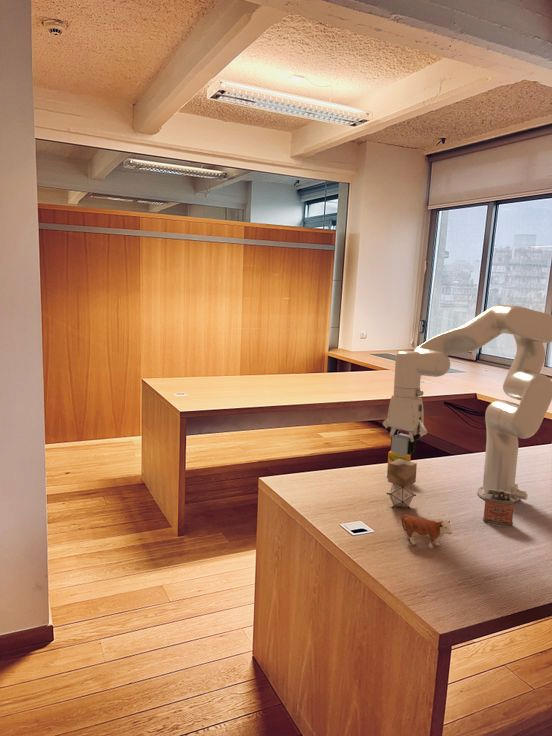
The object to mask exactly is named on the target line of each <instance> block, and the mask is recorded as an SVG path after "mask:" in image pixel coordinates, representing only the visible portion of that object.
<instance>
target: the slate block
mask: <svg viewBox="0 0 552 736" xmlns="http://www.w3.org/2000/svg"><path fill="white" fill-rule="evenodd" d="M409 441H410V437H409V434H404V433H402V432H400V433H398V434H397V435H394V436H392V445H391V444H390V447H391V448H390V451H391V452H392V453H396V454H399V455H403V456H407V455H409V454H408V442H409Z"/></svg>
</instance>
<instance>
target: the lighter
mask: <svg viewBox="0 0 552 736" xmlns="http://www.w3.org/2000/svg"><path fill="white" fill-rule="evenodd" d="M488 494H492V496H489V495H487V496H485V499H484V510H483V517H482V522H483V521H484V522H486V523H485V524H487V523H490V524H489V525H492V524H494V525H493V526H498V525H500V527H507V526H509V528H511V526H512V527H513V526H514V522H513V521H514V518H513V517H514V510H515V509H514V508H515V506H514V505H515V504H516V502H515V500H514V499H511V498H510V497H511V492H505V491H504V490H502V489H500V490H499V491H498V490H494V489H488ZM495 495H497V496H495ZM505 496H507V498H506V497H505ZM484 522H483V523H484Z"/></svg>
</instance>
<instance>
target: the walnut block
mask: <svg viewBox="0 0 552 736" xmlns="http://www.w3.org/2000/svg"><path fill="white" fill-rule="evenodd" d="M417 467H418V466H417V462H413V461H411V460H410V461H406V460H403V459H398V460H395V461H393V462H390V463H389V471H388V478H387V482H388V483H390V484H392V485H393V484H397V485H400V486H403V487H407V486H409V485H410V486H411V485H413V484H414V483H416V480H417Z"/></svg>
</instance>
